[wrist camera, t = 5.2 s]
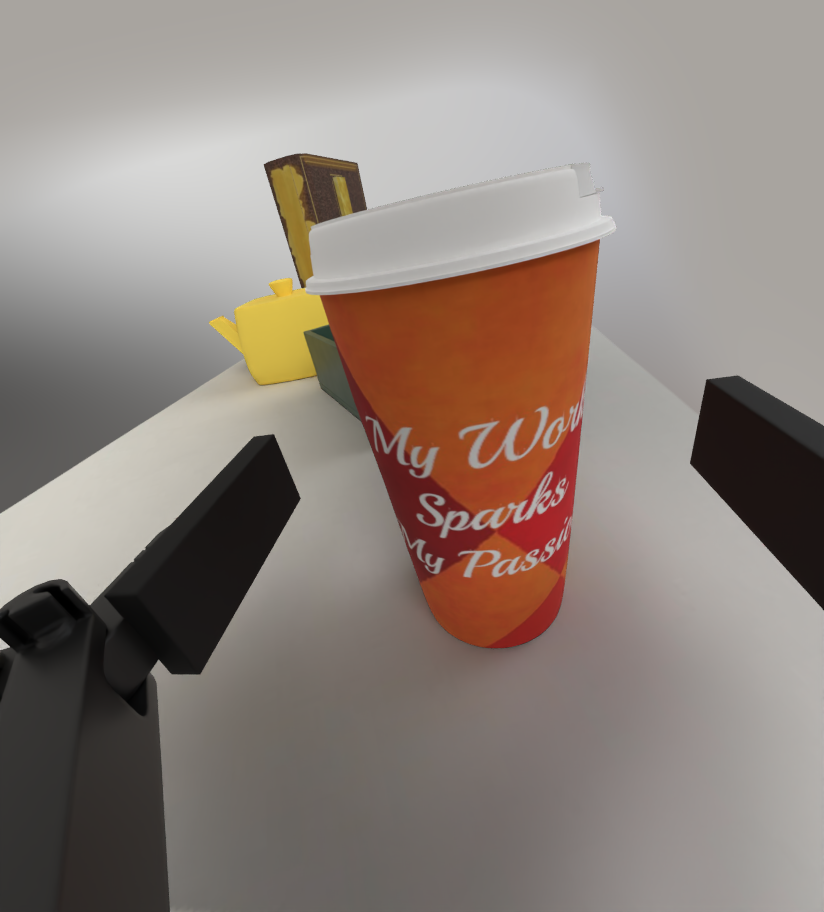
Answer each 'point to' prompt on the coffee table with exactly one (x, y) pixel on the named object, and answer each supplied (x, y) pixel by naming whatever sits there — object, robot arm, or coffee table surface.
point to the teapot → (275, 333)
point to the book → (312, 199)
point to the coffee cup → (473, 381)
